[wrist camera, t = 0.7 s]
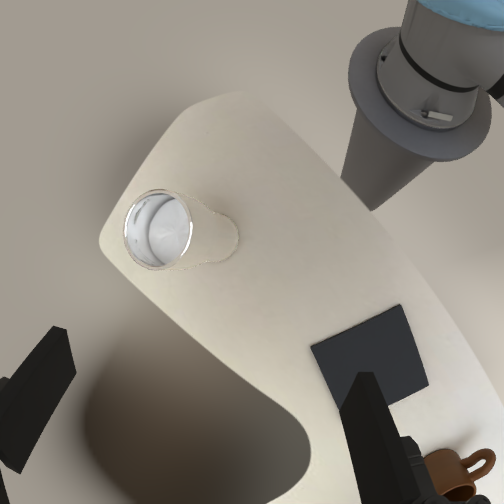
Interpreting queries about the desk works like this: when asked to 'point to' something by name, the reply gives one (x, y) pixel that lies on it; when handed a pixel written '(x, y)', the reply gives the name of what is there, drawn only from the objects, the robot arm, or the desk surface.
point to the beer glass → (176, 232)
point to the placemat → (373, 357)
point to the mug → (457, 472)
